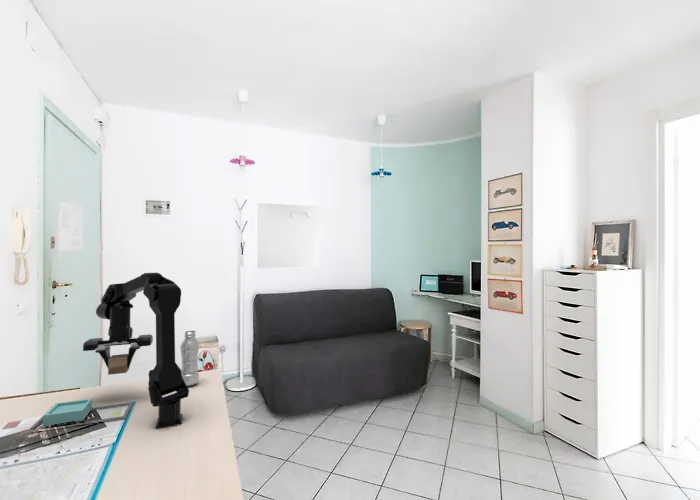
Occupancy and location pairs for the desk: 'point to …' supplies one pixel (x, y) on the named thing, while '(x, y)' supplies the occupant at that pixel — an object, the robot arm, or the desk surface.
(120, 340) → the robot arm
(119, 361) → the walnut block
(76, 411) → the teal square tray
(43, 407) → the desk surface
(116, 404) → the gray metal rectangular frame
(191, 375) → the plastic bottle
